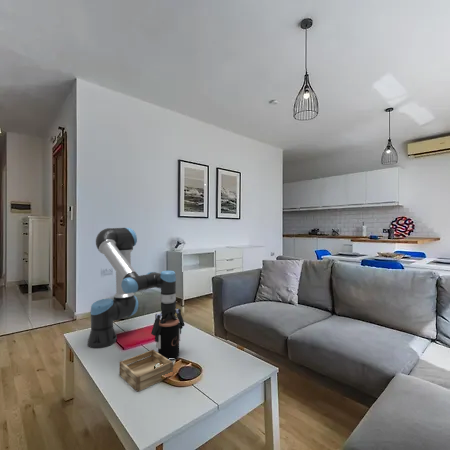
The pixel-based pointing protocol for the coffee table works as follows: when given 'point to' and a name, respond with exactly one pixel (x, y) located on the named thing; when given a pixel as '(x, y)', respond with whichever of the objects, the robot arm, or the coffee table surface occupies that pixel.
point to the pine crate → (144, 369)
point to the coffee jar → (169, 339)
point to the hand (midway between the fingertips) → (168, 344)
